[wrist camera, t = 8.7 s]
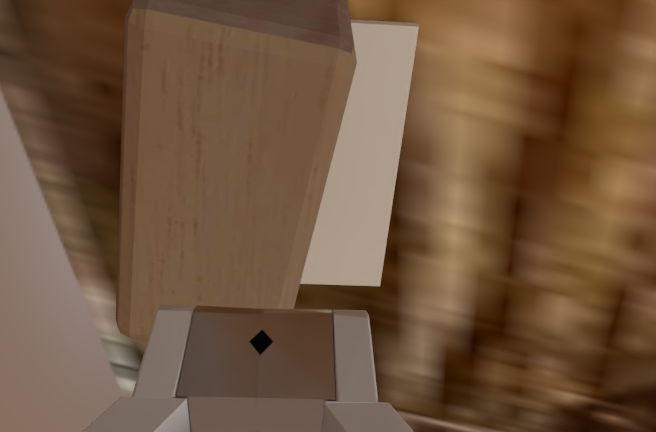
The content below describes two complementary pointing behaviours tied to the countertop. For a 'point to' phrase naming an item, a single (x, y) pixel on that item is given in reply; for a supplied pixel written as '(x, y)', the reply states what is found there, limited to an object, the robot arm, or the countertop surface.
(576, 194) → the countertop surface
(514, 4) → the countertop surface
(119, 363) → the countertop surface
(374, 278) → the mat
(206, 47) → the wooden block
